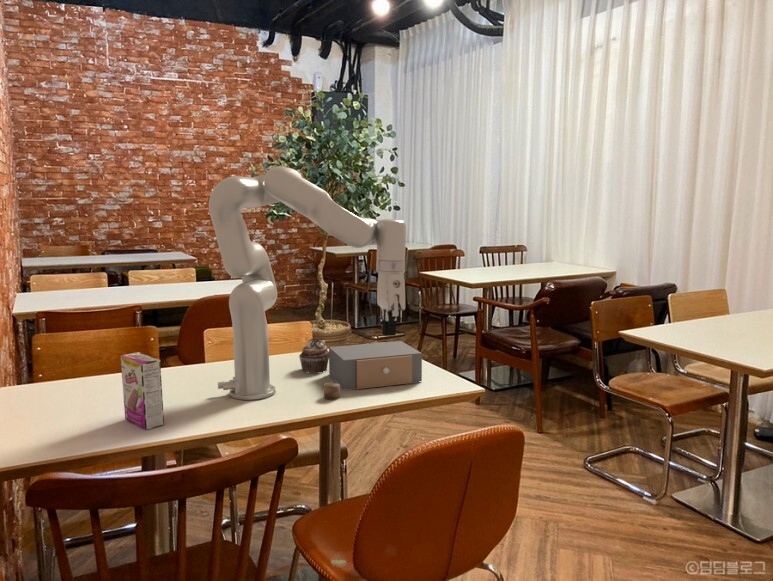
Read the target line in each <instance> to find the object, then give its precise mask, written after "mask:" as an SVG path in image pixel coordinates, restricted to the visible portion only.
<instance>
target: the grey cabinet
mask: <svg viewBox="0 0 773 581" xmlns="http://www.w3.org/2000/svg"><path fill="white" fill-rule="evenodd" d="M328 352H329V360H328V364H329V365H328V367H329V368H328V371H329V372H328V373H329V376H330V377H331V378H332V379H333V380H334V381H335V383H338V384H340V388H341V389H343V390H344V391H349V390H358V389H357V388H356V360H366V359H377V358H388V357H399V356H409V355H412V382H415V383H420V382H419V381H423V379H422V378H423V377H422V376H423V373H422V372H423V371H422V370H423V369H422V368H423V353H422V352H420V350H418V349H416V348H414V347H412V346H411V345H408V344H407V343H405V342H404V341H402V340H399V341H398V340H397V341H396V340H395V341H386V342H380V343H372V344H366V343H363V344H361V343H360V344H351V345H340V346H339V345H338V346H337V345H336V346H329V347H328Z"/></svg>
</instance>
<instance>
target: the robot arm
mask: <svg viewBox="0 0 773 581" xmlns="http://www.w3.org/2000/svg"><path fill="white" fill-rule="evenodd" d="M277 203H282V204H284V205H285V206H287V207H289V208H290V209H292V210H293V211H296V212H297V213H299V214H300V215H302V216H304V217H305V218H307V219H308V220H310V221H311V222H312V223H313V224H315V225H316V226H317V227H319V229H320V228H321V229H322V230H323V231H324V232H326V233H328V235H331V236H333V237H334V238H335V239H337V240H339V241H341V242H342V243H345V245H347V246H349V247H352V248H355V249H362V248H365V247H368V246H376V264H375V268H376V269H375V273H378V274H377V276H378V277H377V286H376V287H377V288H376V303H377V304H376V305H377V306H379V307H380V310H381V312H382V313H381V315H382V317H381V318H382V332H381V334H382V335H384V336H385V337H389V336H390V337H392V336H396V333H397V330H396V329H397V327H396V326H397V320H398V319H397V317H399V315H400V313H399V310H400V311H405V310H406V287H405V286H406V284H405V272H406V246H407V245H406V244H407V243H406V242H407V241H406V236H407V225H406V222H405V221H404V220H403V219H392V218H391V219H390V218H389V219H388V218H387V219H376V218H369V217H359V216H357V215H355V214H354V213H352V212H350V211H349V210H347V209H345V208H344V207H342V206H341V205H339V204H338V203H337V202H335V201H334V200H333V199H332V197H331V195H329V193H328V192H327V191H326V190H324V189H323V188H321V187H319V186H318V185H316V184H314V183H312V182H310V181H309V180H307V179H306V178H304V177H302V175H301V174H300V172H299V171H297V170H296V169H294V168H291V167H286V166H280V165H279V166H278V165H277V166H273V167H271V168H269V169H268V170H267V171H266V173H265V174H260V175H257V176H252V177H249V176H241V175H233V176H228V177H226V178H224V179H222V180H221V181H219V182H218V183H217V184H216V185H215V187H214V188H212V191H211V193H210V195H209V200H208V210H209V215H210V216H209V217H210V218H211V219H210V220H211V223H212V226H213V230H214V233H215V237H216V242H217V245H218V248H219V253H220V256H221V260H222V265H223V267H224V270H225V272H226V273H227V274H228V275H229V276H231V277H233V278H238V279H239V278H240V279H241V280H242V281H241V283H239V284H237V285H236V286H235V287H234V288H233V289H232V291H231V292H230V295H229V298H228V307H229V308H228V309H229V312H230V317H231V323H232V324H231V326H232V340H233V365H234V376H232V379H229V380H227V381H218V382H217V389H218V390H222V389H223V391H228V390H229V396H230V397H231V398H233V399H236V400H243V401H244V400H245V401H252V400H253V401H255V400H261V399H266V398H269V397H271V396H273V395H274V394H275V393H276V387H275V385H273V384H271V382H270V381H271V380H270V353H269V352H270V349H269V348H270V347H269V343H270V342H269V328H268V327H269V326H268V321H267V320H268V319H267V317H266V311H267V310H269V309H271V308H272V307H273V306H274V305H275V303H276V301H277V298H278V289H277V283H276V280H275V276H274V273H273V272H274V271H273V269H272V265H271V261H270V258H269V255H268V253H267V251H266V249H265V248H264V247H263V246H262V244H260V243H258V242H255V241H251V239H250V234H249V231H248V226H247V224H246V221H245V220H244V217H243V216H242V212H241V211H242V209H255V208H260V207H263V206H264V207H265V206H268V205H273V204H277Z"/></svg>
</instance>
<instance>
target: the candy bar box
mask: <svg viewBox="0 0 773 581" xmlns="http://www.w3.org/2000/svg"><path fill="white" fill-rule="evenodd" d="M120 365H121V366H120V367H121V368H120V369H121V378H122V380H121V381H122V394H123V406H124V408H123V409H124V419H125V420H126V421H128V422H131V424H134V425H136V426H138V427H140V428H142V429H143V430H146V429H148V430H150V429H149V428H152V429H154V428H153V427H155V428H157V427H156V426H158V427H160V426H159V425H162V426H164V425H165V418H164V417H165V416H164V402H163V401H164V400H163V399H164V398H163V386H162V370H161V368H162V367H161V359H159V358H155V357H153V356H149V355H147V354H145V353H141V352H139V351H138V352H133V353H132V352H131V353H127V354H123V355H120ZM163 424H164V425H163Z"/></svg>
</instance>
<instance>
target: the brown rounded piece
mask: <svg viewBox="0 0 773 581" xmlns="http://www.w3.org/2000/svg"><path fill="white" fill-rule="evenodd" d="M324 398H325V400H328V401H329V400H330V401H336V400H338V399H340V398H341V386H340V384H338V383H337V382H327V383H324V384H323V399H324Z"/></svg>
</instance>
